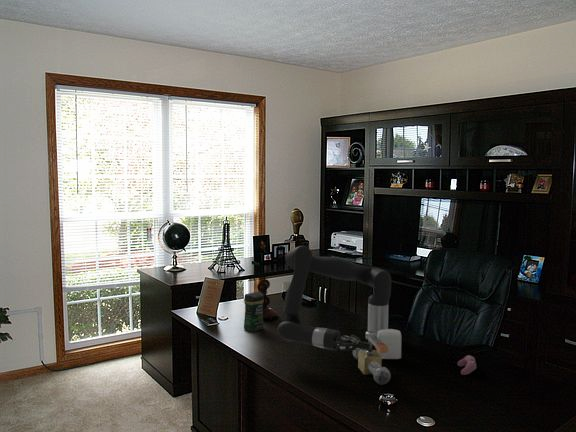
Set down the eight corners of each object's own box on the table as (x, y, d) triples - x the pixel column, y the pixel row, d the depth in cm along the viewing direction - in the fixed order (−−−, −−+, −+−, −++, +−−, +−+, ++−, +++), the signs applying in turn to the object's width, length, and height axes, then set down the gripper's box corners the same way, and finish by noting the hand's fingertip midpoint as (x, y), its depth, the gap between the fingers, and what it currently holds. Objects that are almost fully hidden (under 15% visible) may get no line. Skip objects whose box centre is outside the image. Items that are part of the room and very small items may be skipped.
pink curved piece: (470, 380, 186) (480, 365, 185) (460, 374, 186) (469, 359, 185) (466, 369, 195) (475, 355, 194) (456, 364, 196) (464, 349, 195)
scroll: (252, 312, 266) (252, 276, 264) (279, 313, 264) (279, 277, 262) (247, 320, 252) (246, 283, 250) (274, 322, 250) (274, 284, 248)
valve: (351, 360, 201) (352, 330, 199) (367, 358, 202) (368, 329, 201) (373, 385, 177) (374, 352, 176) (391, 383, 179) (392, 351, 177)
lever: (364, 337, 191) (364, 331, 190) (373, 336, 191) (373, 330, 191) (379, 353, 174) (379, 346, 174) (388, 352, 175) (388, 346, 175)
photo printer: (377, 359, 201) (378, 331, 200) (375, 355, 205) (376, 327, 204) (402, 360, 201) (402, 331, 200) (399, 356, 205) (400, 327, 204)
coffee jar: (252, 333, 232) (252, 295, 230) (241, 329, 237) (241, 293, 236) (266, 328, 239) (266, 292, 237) (255, 325, 245) (255, 289, 243)
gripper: (319, 334, 180) (363, 342, 172) (333, 324, 191) (375, 331, 183) (319, 353, 181) (363, 362, 172) (332, 342, 192) (374, 350, 184)
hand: (369, 346), depth 178 cm, fingers closed
